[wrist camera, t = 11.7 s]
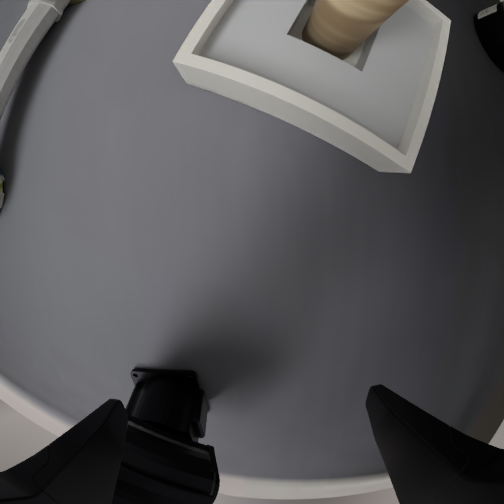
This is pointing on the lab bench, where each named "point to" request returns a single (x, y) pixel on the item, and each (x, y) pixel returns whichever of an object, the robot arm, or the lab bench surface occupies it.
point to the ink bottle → (492, 32)
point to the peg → (346, 23)
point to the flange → (75, 1)
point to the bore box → (325, 74)
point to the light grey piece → (25, 48)
